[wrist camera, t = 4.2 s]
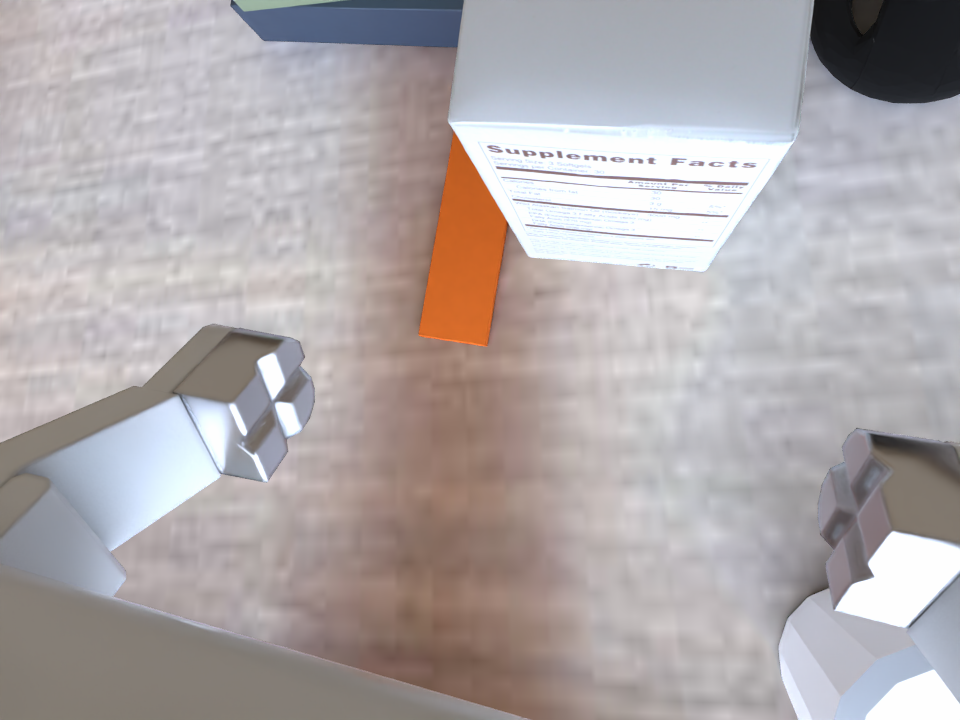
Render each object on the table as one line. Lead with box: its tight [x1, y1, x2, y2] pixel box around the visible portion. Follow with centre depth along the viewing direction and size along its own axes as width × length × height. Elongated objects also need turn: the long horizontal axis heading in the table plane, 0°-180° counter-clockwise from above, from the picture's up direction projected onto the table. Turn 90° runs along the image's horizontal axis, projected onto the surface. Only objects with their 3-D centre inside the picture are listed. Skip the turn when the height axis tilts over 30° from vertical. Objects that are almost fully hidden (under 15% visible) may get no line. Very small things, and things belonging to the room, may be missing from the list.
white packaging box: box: [448, 0, 814, 272], centre depth 18 cm, size 7×7×13 cm
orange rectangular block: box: [419, 131, 508, 346], centre depth 26 cm, size 12×3×1 cm, turn 170°
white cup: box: [778, 588, 960, 720], centre depth 18 cm, size 7×7×7 cm
